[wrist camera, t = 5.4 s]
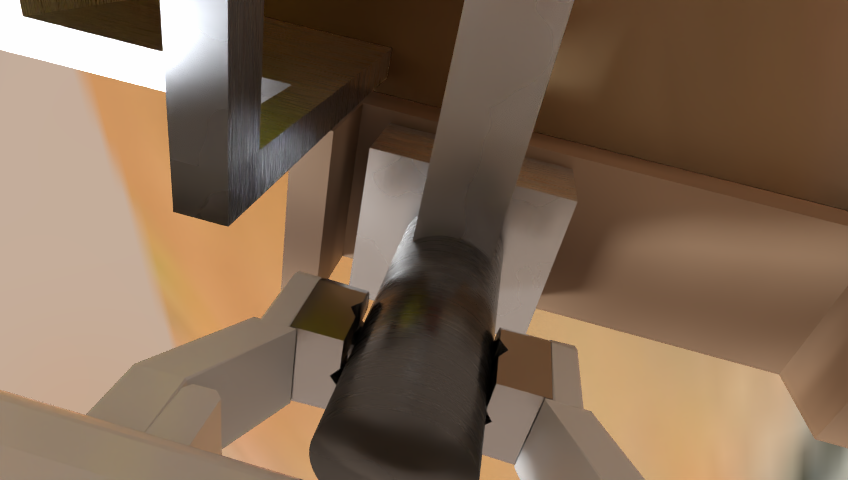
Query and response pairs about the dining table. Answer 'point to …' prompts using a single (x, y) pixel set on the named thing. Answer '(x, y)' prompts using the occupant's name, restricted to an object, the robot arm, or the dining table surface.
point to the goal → (210, 83)
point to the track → (639, 255)
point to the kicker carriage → (450, 256)
